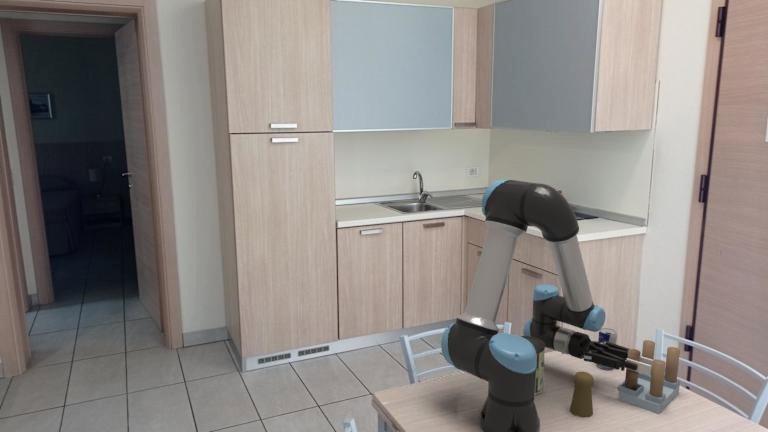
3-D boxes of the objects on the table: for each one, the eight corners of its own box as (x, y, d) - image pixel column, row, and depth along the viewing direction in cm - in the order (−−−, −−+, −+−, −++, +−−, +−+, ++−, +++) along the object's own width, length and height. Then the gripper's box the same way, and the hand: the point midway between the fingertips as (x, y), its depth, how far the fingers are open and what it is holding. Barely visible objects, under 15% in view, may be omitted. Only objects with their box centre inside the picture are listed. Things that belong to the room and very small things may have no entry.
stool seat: (617, 398, 161) (620, 354, 158) (638, 379, 172) (642, 338, 169) (658, 413, 153) (663, 367, 150) (678, 392, 164) (683, 349, 161)
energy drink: (596, 369, 179) (599, 333, 176) (595, 361, 184) (598, 327, 181) (614, 371, 177) (618, 335, 175) (613, 363, 182) (616, 328, 180)
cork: (594, 418, 151) (597, 380, 148) (571, 415, 152) (573, 378, 150) (591, 406, 156) (594, 369, 154) (568, 404, 158) (571, 367, 155)
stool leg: (622, 391, 160) (626, 351, 158) (626, 387, 162) (630, 347, 160) (633, 395, 158) (637, 354, 155) (638, 391, 160) (642, 351, 158)
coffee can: (505, 378, 173) (507, 334, 170) (540, 380, 172) (542, 336, 169) (508, 394, 163) (510, 349, 160) (545, 397, 162) (548, 351, 159)
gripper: (584, 346, 177) (662, 371, 161) (558, 363, 166) (640, 391, 149) (586, 324, 176) (665, 346, 159) (560, 339, 164) (642, 365, 148)
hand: (653, 368), depth 154 cm, fingers closed on stool leg, 3 cm apart
